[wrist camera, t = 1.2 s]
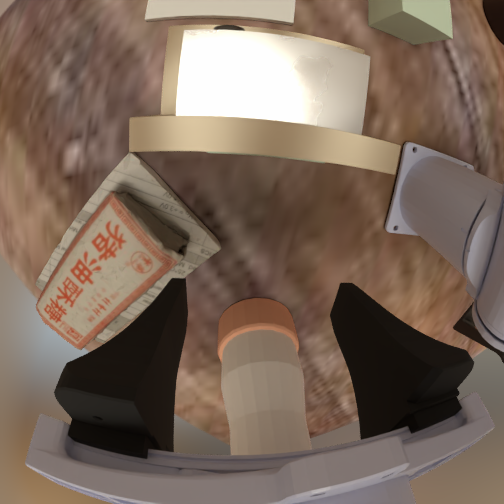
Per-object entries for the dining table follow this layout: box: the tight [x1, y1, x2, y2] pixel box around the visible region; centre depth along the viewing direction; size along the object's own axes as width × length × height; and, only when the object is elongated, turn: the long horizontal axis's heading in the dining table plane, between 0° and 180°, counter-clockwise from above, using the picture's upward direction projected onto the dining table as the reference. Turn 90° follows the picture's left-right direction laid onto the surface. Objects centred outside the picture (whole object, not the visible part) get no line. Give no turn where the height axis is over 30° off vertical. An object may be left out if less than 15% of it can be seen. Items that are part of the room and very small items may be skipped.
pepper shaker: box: [218, 298, 312, 455], centre depth 18 cm, size 7×7×19 cm
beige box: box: [129, 25, 401, 175], centre depth 13 cm, size 13×8×7 cm, turn 85°
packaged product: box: [35, 152, 221, 350], centre depth 20 cm, size 18×5×10 cm
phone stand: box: [453, 302, 504, 363], centre depth 25 cm, size 9×6×12 cm, turn 152°
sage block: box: [368, 0, 453, 45], centre depth 10 cm, size 4×4×5 cm
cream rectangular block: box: [176, 25, 370, 135], centre depth 12 cm, size 9×5×5 cm, turn 85°
